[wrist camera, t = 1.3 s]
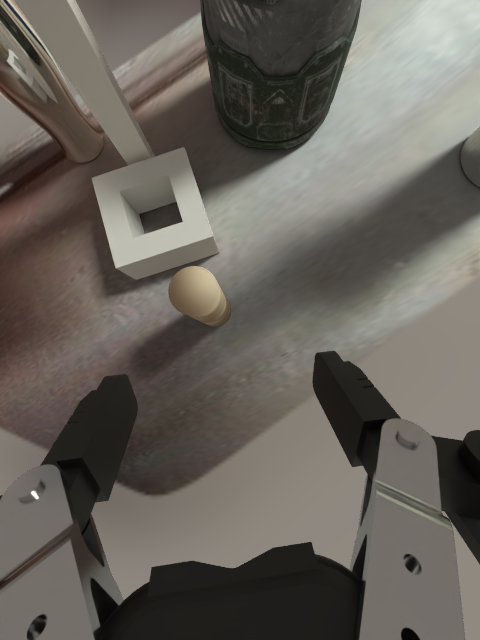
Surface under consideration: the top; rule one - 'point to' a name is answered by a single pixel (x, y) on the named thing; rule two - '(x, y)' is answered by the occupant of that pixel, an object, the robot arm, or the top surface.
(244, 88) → the canister
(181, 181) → the kiosk
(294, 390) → the top surface
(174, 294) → the peg
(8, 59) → the beer glass
